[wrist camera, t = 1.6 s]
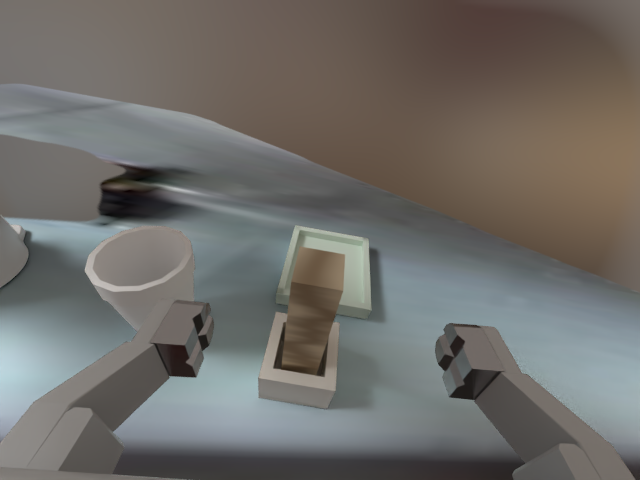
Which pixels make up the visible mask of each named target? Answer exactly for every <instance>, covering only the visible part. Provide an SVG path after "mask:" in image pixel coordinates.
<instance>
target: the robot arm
mask: <svg viewBox="0 0 640 480" xmlns="http://www.w3.org/2000/svg"><path fill="white" fill-rule="evenodd" d="M25 233H26V232H25V230H24V229H23V228H22V227H21V226H20V225H10V224H9V223H8V222H7V221H6V220H5V219H4V218H3V217H2V216H1V215H0V288H1V287H2V286H4V285H5V284H6V283H8V282H9V281H10V280H11V279H13V278H14V277H15V276H16V275H17V274H18V273H19V272H20V271H21V270H22V268H23V267H24V266H25V264H26V262H27V260H28V255H29V253H28V249H27V247H26V245H25V244H24V242H23V240H24V237H25ZM210 311H211V308H210V305H209V303H202V302H193V301H184V300H175V299H164V298H162V299H160V300H159V301H158V302H157V303H156V304H155V306H154V308H153V309H152V311H151V312H150V314H149V315H148V317H147V318H146V320H145V321H144V323H143V324H142V326H141V327H140V329H139V330H138V332H137V333H136V335H135V337H134V338H133V340H132V341H131V342H125V343H123V344H122V345H120V346H119V347H117V348H116V349H114V350H113V351H111V352H109V353H108V354H106V355H105V356H103V357H102V358H100V359H99V360H97V361H96V362H94V363H93V364H91V365H90V366H88V367H87V368H85V369H84V370H82V371H80V372H79V373H77V374H76V375H74V376H73V377H71V378H70V379H68V380H67V381H65V382H64V383H62V384H61V385H59V386H58V387H56V388H54V389H53V390H51V391H50V392H48V393H47V394H45V395H44V396H42V397H41V398H39V399H38V400H36V401H35V402H33V404H32V405H31V406H30V407H29V408H28V410H27V411H26V412H25V413H24V415H23V416H22V417H21V418H20V419H19V421H18V422H17V423H16V424H15V426H14V427H13V428H12V429H11V431H10V432H9V433H8V434H7V435H6V437H5V438H4V439H3V440H2V442H1V443H0V480H185V479H171V478H156V477H141V476H126V475H112V473H113V471H114V469H115V466H116V464H117V462H118V460H119V458H120V456H121V454H122V452H123V450H124V445H123V442H122V441H121V440H120V439H119V438H118V437H117V436H116V435H115V434H114V433H113V431H114V430H116V429H117V428H118V427H119V426H120V425H121V424H122V423H123V422H124V421H125V420H126V419H127V418H128V417H129V416H130V415H131V414H132V413H133V412H134V411H135V410H136V409H137V408H138V407H140V406H141V405H142V404H143V403H144V402H145V401H146V400H147V399H148V398H149V397H150V396H151V395H152V394H153V393H154V392H155V391H156V390H157V389H158V388H159V387H160V386H161V385H163V384H164V383H165V382H166V381H167V380H168V379H169V376H177V377H197V374H198V372H199V369H200V367H201V364H202V362H203V359H204V356H203V353H202V351H203V350H204V349H205V348H207V347H208V346H209V344H210V341H211V339H212V334H213V330H214V322H213V318H212V317H211V316H210V315H209V313H210ZM443 330H444V332H445V334H444V335H442V336H440V337H439V338H438V340H437V342H436V347H435V353H436V359H437V362H438V365H439V366H440V367H441V368H442V369H443V370H444V371H445V372H444V374H443V377H442V378H443V381H444V384H445V387H446V390H447V393H448V396H449V397H452V398H461V399H470V400H475V401H474V402H475V403H476V404H477V405H478V407H479V408H480V409H481V410H482V412H483V413H484V414H485V415H486V416H487V418H488V419H489V420H490V421H491V422H492V424H493V425H494V426H495V427H496V429H497V430H498V431H499V432H500V433H501V435H502V436H503V437H504V438H505V439H506V441H507V442H508V443H509V444H510V446H511V447H512V448H513V449H514V450H515V452H516V453H517V454H518V455H519V456H520V458H521V459H522V460H523V461H524V462H525V464H524V465H523V466H521V467H519V468H518V469H516V470H514V472H513V474H512V476H513V479H514V480H635V478H634V477H633V475H632V474H631V472H630V471H629V469H628V468H627V466H626V465H625V464H624V462H623V461H622V459H621V458H620V456H619V455H618V453H617V452H616V450H615V449H614V447H613V446H612V445H611V444H610V443H608V442H607V441H606V440H605V439H604V438H602V437H601V436H600V435H599V434H598V433H597V432H595V431H594V430H593V429H592V428H591V427H589V426H588V425H587V424H586V423H585V422H583V421H582V420H581V419H580V418H579V417H577V416H576V415H575V414H574V413H573V412H571V411H570V410H569V409H568V408H567V407H565V406H564V405H563V404H562V403H561V402H560V401H558V400H557V399H556V398H555V397H554V396H552V395H551V394H550V393H549V392H548V391H546V390H545V389H544V388H543V387H542V386H540V385H539V384H538V383H537V382H536V381H534V380H533V379H532V378H531V377H530V376H529V375H527V374H522V372H521V370H520V369H519V367H518V365H517V363H516V362H515V360H514V358H513V356H512V355H511V353H510V351H509V349H508V348H507V346H506V344H505V342H504V341H503V339H502V337H501V335H500V334H499V332H498V330H497V329H496V328H494V327H489V326H477V325H468V324H453V323H449V324H447V325H446V326H445V328H444V329H443Z"/></svg>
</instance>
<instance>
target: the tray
mask: <svg viewBox="0 0 640 480" xmlns="http://www.w3.org/2000/svg"><path fill="white" fill-rule="evenodd" d="M300 246H301V247H306V248H312V249H318V250H323V251H329V252H334V253H340V254H345V268H344V287H343V293H342V296H341V300H340V303H339V306H338V309H337V312H336V314H339V315H345V316H350V317H356V318H362V319H367V318H368V316H369V314H370V312H371V288H370V263H369V239H367V238H362V237H356V236H351V235H345V234H340V233H334V232H329V231H323V230H318V229H312V228H306V227H301V226H295V228H294V232H293V235H292V239H291V243H290V246H289V250H288V253H287V257H286V260H285V264H284V267H283V271H282V274H281V278H280V281H279V285H278V289H277V292H276V304H282V305H289V296H290V288H291V281H292V276H293V272H294V268H295V264H296V260H297V256H298V251H299V247H300Z"/></svg>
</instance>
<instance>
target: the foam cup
mask: <svg viewBox="0 0 640 480" xmlns="http://www.w3.org/2000/svg"><path fill="white" fill-rule="evenodd" d="M194 270H195V263H194V255H193V250H192V246H191V241H190V240H189V239H188V238H187V237H186V236H185V235H184V234H183V233H182V232H181V231H178V230H175V229H172V228H169V227H166V226H142V227H137V228H133V229H129V230H125V231H121V232H120V233H118V234H116V235H114V236H112V237H110V238H108V239H106V240H104V241H102V242H101V243H100V244H99V245H98V246H97V247H96V248H95V249H94V250H93V251H92V252H91V253H90V254H89V255H88V259H87V263H86V267H85V273H86V274H87V276H88V277H89V279H90V281H91V282H92V284H93V285H94V287H95V289H96V290H97V292H98V293H99V295H100V296H101V298H102V299H103V300H105V301H107V302H109V303H110V304H111V305H112V306H113V307H114V308H115V309H116V311H117V312H118V313H119V314H120V315H121V316H122V317H123V318H124V319H125V320H126V321H127V322H128V323H129V324H130V325H131V326H132V327H133V328H134V329H135V330H136V331H137V332H138V330H139V329H140V327H141V326H142V324H143V323H144V321H145V320H146V318H147V317H148V315H149V314H150V312H151V311H152V309H153V308H154V306H155V304H156V303H157V302H158V301H159V300H160V299H162V298H164V299H175V300H184V301H193V302H194V276H193V272H194Z"/></svg>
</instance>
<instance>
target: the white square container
mask: <svg viewBox="0 0 640 480" xmlns="http://www.w3.org/2000/svg"><path fill="white" fill-rule="evenodd" d="M286 322H287V314H286V313H280V312H276V314H275V318H274V321H273V325H272V329H271V333H270V336H269V340H268V344H267V348H266V351H265V355H264V359H263V363H262V366H261V370H260V374H259V378H258V390H259V398H263V399H269V400H275V401H281V402H287V403H293V404H298V405H304V406H310V407H316V408H322V409H327V408H328V406H329V404H330V402H331V400H332V398H333V396H334V393H335V391H336V375H337V358H338V342H339V325H340V323H337V322H333V325H332V328H331V331H330V334H329V337H328V340H327V343H326V346H325V350H324V353H323V356H322V359H321V362H320V365H319V368H318V371H317V375H316V376H315V375H309V374H303V373H298V372H292V371H286V370H281V365H282V356H283V348H284V339H285V331H286Z"/></svg>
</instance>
